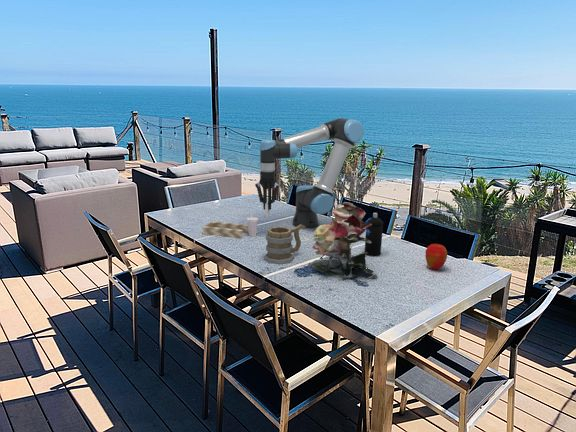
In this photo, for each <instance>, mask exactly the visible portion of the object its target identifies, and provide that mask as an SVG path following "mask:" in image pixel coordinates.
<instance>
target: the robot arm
mask: <svg viewBox="0 0 576 432" xmlns="http://www.w3.org/2000/svg"><path fill="white" fill-rule="evenodd" d="M363 136H364V128H363V125H362V123H361V122H360V121H359V120H356V119H353V118H350V119H349V118H335V119H333V120H329V121H326V122H324V123H321V124H320V126H318V127H313V128H311V129H307V130H305V131H303V132H299V133H298V132H297V133H296V134H292V135H289V136H287V137H283V138H279V139H277V140H274V139H262V140H261V141H260V146H259V154H260V155H259V156H260V157H259V159H260V160H259V161H260V163H259V166H260V167H259V170H260V171H259V181H258V182H257V183H255V185H254V186H255V188H256V191H257V195H258V198H259V202H260V203H262V204H263V210H264V217H269V216H270V211H271V209H272V204H274V203H275V202H276V198H277V194H278V191H279V188H280V187H281V185H280V184H278V183H277V181H276V172H275V171H276V160H278V159H295V158H296V157H297V155H298V149H300V148H302V147H305V146H309V145H311V144H315V143H318V142H320V141H330V140H333V141H334V144H333V147H332V149H331V152H330V154H329V156H328V158H327V161H326V164H325V165H324V168H323V171H322V173H321V175H320V177H319V180H318V182H317V184H314V185H299V186H297V187H296V191H295V195H296V196H295V213H294V215H293V219H292V226H294V227H297V226H298V225H300V224H301V225H303V226H305V229H312V228H317V227H319V219H318V215H326V214H327V213H328V212H330V211H331V210H332V208H333V206H334V201H333V200H334V199H333V196H334V192H333V189H334V187H335V184H336V182H337V180H338V177H339V174H340V173H341V170H342V168H343V165H344V162H346V158H347V156H348V154H349V151H350V149H353V148H354V146H355V145H356V143H358V142H360V141H361V139H362V138H363ZM261 187H262V188H261ZM273 187H274V189H273ZM272 190H273V191H272ZM272 192H273V193H272ZM317 214H318V215H317Z"/></svg>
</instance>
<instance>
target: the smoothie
mask: <svg viewBox="0 0 576 432" xmlns="http://www.w3.org/2000/svg"><path fill="white" fill-rule="evenodd" d="M258 221H259V217H257V216H253V210H252V209H251V210H250V216H249V217H248V216H247V218H246V223H247V224H246V225H248V231H249V233H248V236H249V237H251V238H254V237H257V230H258V229H257V228H258Z"/></svg>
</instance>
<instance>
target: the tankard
mask: <svg viewBox="0 0 576 432" xmlns="http://www.w3.org/2000/svg"><path fill="white" fill-rule="evenodd" d="M305 229H306V228H305V226H303V225H301V224H300V225H298V226H297V227H296V226H294V227H293V228H289V227H286V226H273V227H270V228H269V229H267V234H266V235H265V240H266V241H267V244H266V245H265V251H267V253H265V255H264V256H263V257H264V260H266V262H268V263H269V264H270V263H271V264H276V265H282V264H283V265H284V264H290V263H291V262H292V261H293V260H294V259H295V255H294V254H295V253H296V252H299V250H300V248H301V246H302V241H301V238H300V230H305ZM293 239H294V240H295V246H293V244H292V241H293ZM292 253H294V254H292Z"/></svg>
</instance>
